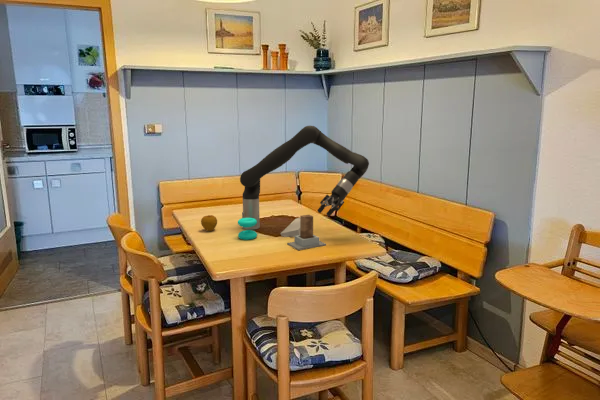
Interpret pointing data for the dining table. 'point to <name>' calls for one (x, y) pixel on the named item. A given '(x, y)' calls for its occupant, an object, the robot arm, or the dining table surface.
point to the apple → (209, 222)
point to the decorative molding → (292, 229)
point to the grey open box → (306, 243)
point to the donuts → (247, 233)
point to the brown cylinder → (306, 226)
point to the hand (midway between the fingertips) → (323, 213)
